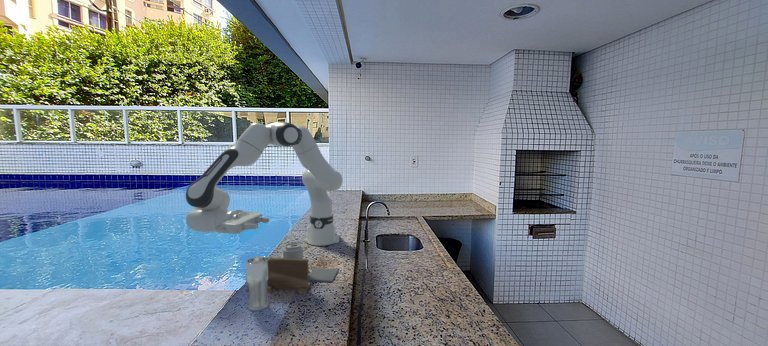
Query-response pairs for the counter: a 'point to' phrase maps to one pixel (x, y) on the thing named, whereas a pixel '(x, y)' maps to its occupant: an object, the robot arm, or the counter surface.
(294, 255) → the can
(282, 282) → the walnut screen
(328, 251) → the counter surface
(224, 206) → the robot arm
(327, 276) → the slate mat
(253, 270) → the beer glass
